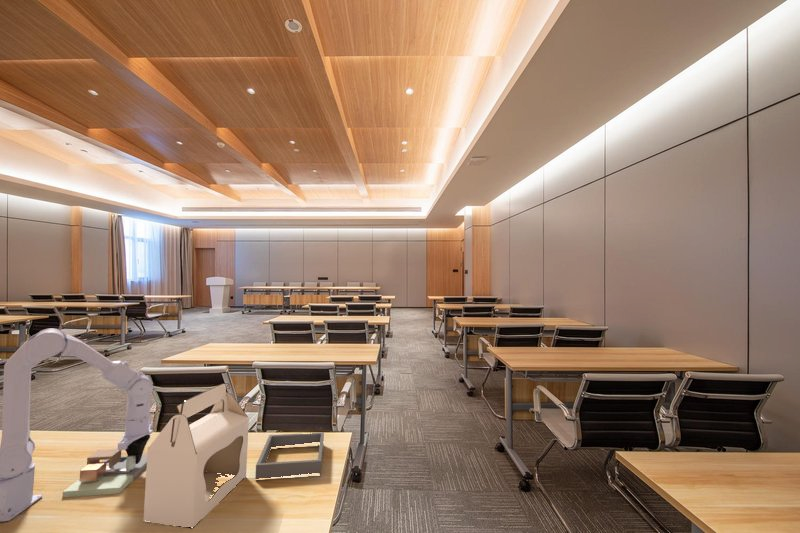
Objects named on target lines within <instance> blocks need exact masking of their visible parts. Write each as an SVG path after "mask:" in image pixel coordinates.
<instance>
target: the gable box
mask: <svg viewBox="0 0 800 533" xmlns="http://www.w3.org/2000/svg"><path fill="white" fill-rule="evenodd" d="M226 387H227V386H226V384H225V383H221V384H218V385H216V386H215V387H212V388H210V389H207V390H205V391H203V392H200V393H198V394H197V395H194V396H192V397H189V398H187V399H185V400H184V401H182V403H180V404H178V405H176V409H177V412H178V414H176V415H174V416H172V417H171V418H170V419H169V421H168V422H167V423H166V424H165V426H164V427H163V428H162V429H161V431H160V432H159V434H158V435H157V436H156V437H155V439H154V440H153V441H152V443H151V444H150V445H149V447H147V454H146V455H147V467H146V468H145V470H146V471H145V487H144V488H145V489H144V505H143V520H142V521H145V520H146V521H150V522H154V523H160V524H159V525H161V524H167V525H166V526H169V525H175V526H174V527H176V526H181V527H180V528H183V527H194V526H195V525H196V524H197V523H198V522H199V521H200V520H201V519H202V520H203V519H205V517H207V515H208V514H209V513H211V511H213V509H215V508H216V507H217V506H218V505H219V504H220V503H221V502H222V501H223V500H224V499H225V498H226V497H227V496H228V495H229V494H230V493H231V492H232V491H233V490H234V489H235V488H236V487H237V486H238V485H239V484H240V483H241V482H242V481H243V480H244V479H245V478H246V477H247V462H248V445H249V443H248V442H249V423H250V422H249V420H250V418H249V416H248V414H247V413H246V412H245V410H244V409H243V408H242V406H241V405H240V403H239V402H238V400H237V399H236V398H235V396H234V395H233V394H232V393H231V390H228V391H227V389H226ZM211 406H213V407H212V409H211V411H210V412H209V413H208V414H206V415H205V416H203V417H201V418H200V419H198V420H195V421H194V422H191V423H189V420H188V418H190V417H191V416H193V415H195V414H198V413H199V412H201V411H203V410H206V409H207V408H210V407H211ZM217 473H221V474H217ZM225 474H229V475H231V474H232V475H235V476H234V477H233V478H232V479H230V480H228V481H226V482H225V483H223V484H222V485H221V486H217V483H215V482H219V481H218V480H216V478H218V477H221V476H220V475H222V476H225V477H228V476H227V475H225ZM245 476H246V477H245ZM244 477H245V478H244ZM243 478H244V479H243ZM242 479H243V480H242ZM241 480H242V481H241ZM240 481H241V482H240ZM239 482H240V483H239ZM238 483H239V484H238ZM237 484H238V485H237ZM236 485H237V486H236ZM215 487H218V488H219V489H218V490H217V491H216V492H214V491H213V490H215V489H214V488H215ZM233 488H234V489H233ZM232 489H233V490H232ZM231 490H232V491H231ZM230 491H231V492H230ZM229 492H230V493H229ZM228 493H229V494H228ZM213 494H214V495H213ZM227 494H228V495H227ZM210 495H213V496H212V498H211V499H210V498H209V497H211V496H210ZM226 495H227V496H226ZM225 496H226V497H225ZM224 497H225V498H224ZM223 498H224V499H223ZM222 499H223V500H222ZM221 500H222V501H221ZM220 501H221V502H220ZM219 502H220V503H219ZM202 520H201V521H202ZM201 521H200V522H201ZM200 522H199V523H200ZM154 523H153V524H154ZM199 523H198V524H199ZM198 524H197V525H198ZM197 525H196V526H197ZM196 526H195V527H196ZM195 527H194V528H195Z"/></svg>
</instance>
